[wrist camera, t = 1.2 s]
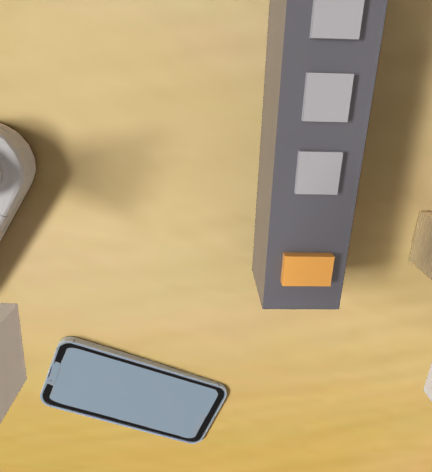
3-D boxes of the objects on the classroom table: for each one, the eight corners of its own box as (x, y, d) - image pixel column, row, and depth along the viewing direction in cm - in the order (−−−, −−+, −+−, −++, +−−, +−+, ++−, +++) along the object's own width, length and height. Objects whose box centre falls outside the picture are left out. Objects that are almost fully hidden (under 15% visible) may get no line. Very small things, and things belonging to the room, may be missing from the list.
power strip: (273, -71, 24) (298, -122, 18) (357, -67, 24) (411, -117, 18) (251, 268, 32) (263, 313, 26) (314, 268, 32) (341, 314, 26)
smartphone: (198, 446, 38) (37, 403, 35) (198, 437, 39) (40, 395, 36) (231, 388, 35) (60, 337, 32) (230, 380, 36) (63, 330, 33)
